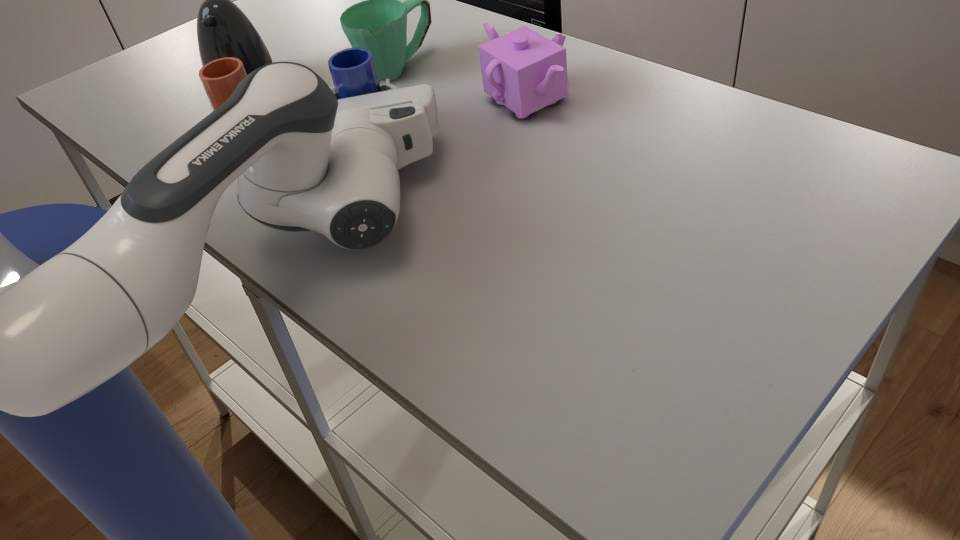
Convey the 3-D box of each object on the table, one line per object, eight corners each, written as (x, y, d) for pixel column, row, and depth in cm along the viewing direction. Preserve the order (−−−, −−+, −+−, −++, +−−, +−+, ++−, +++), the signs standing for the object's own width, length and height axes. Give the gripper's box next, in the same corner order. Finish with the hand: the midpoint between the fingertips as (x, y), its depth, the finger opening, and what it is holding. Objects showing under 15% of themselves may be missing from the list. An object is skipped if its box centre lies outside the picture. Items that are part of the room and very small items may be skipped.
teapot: (607, 106, 104) (607, 40, 97) (530, 145, 99) (524, 79, 93) (529, 59, 115) (524, -3, 108) (457, 92, 111) (447, 30, 104)
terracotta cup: (236, 153, 106) (207, 84, 98) (222, 136, 110) (192, 68, 102) (274, 136, 108) (248, 67, 100) (258, 120, 112) (232, 52, 104)
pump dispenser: (207, 112, 116) (166, 19, 105) (225, 76, 123) (189, -14, 113) (271, 106, 115) (236, 11, 104) (286, 70, 122) (254, -21, 111)
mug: (379, 98, 112) (363, 36, 105) (343, 76, 118) (327, 16, 111) (455, 58, 118) (445, -4, 111) (417, 39, 124) (406, -20, 117)
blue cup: (360, 146, 103) (340, 74, 96) (341, 129, 107) (320, 59, 99) (396, 129, 105) (379, 57, 98) (376, 113, 109) (359, 42, 101)
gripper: (284, 181, 95) (290, 122, 105) (445, 151, 95) (435, 95, 105) (268, 139, 90) (276, 81, 100) (437, 108, 90) (427, 54, 100)
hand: (358, 88), depth 103 cm, fingers closed on blue cup, 6 cm apart
